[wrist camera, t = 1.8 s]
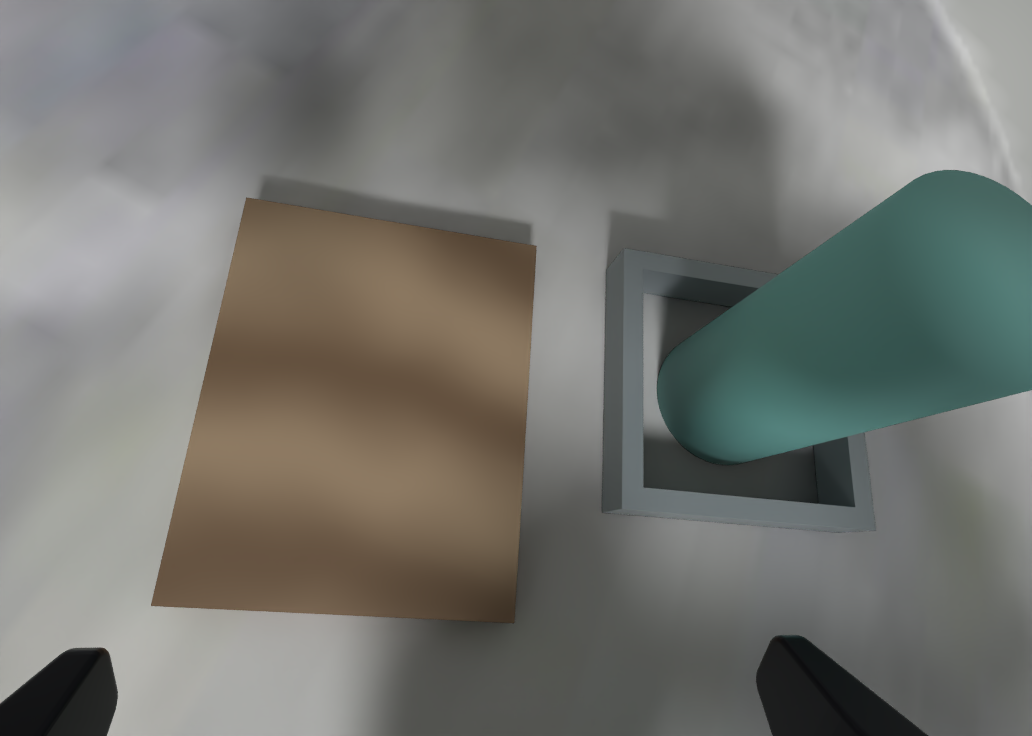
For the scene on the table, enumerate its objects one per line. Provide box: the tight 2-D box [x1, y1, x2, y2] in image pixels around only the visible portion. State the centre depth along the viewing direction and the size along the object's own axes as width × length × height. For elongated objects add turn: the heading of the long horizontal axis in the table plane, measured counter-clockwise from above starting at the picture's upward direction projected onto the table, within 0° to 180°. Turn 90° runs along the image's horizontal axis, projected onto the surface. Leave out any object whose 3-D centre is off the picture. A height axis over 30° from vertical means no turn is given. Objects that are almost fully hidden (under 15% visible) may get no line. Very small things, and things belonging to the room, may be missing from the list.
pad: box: [151, 198, 537, 623], centre depth 22 cm, size 14×11×1 cm
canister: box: [657, 170, 1032, 465], centre depth 20 cm, size 6×6×12 cm
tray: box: [602, 248, 876, 533], centre depth 24 cm, size 10×10×2 cm
